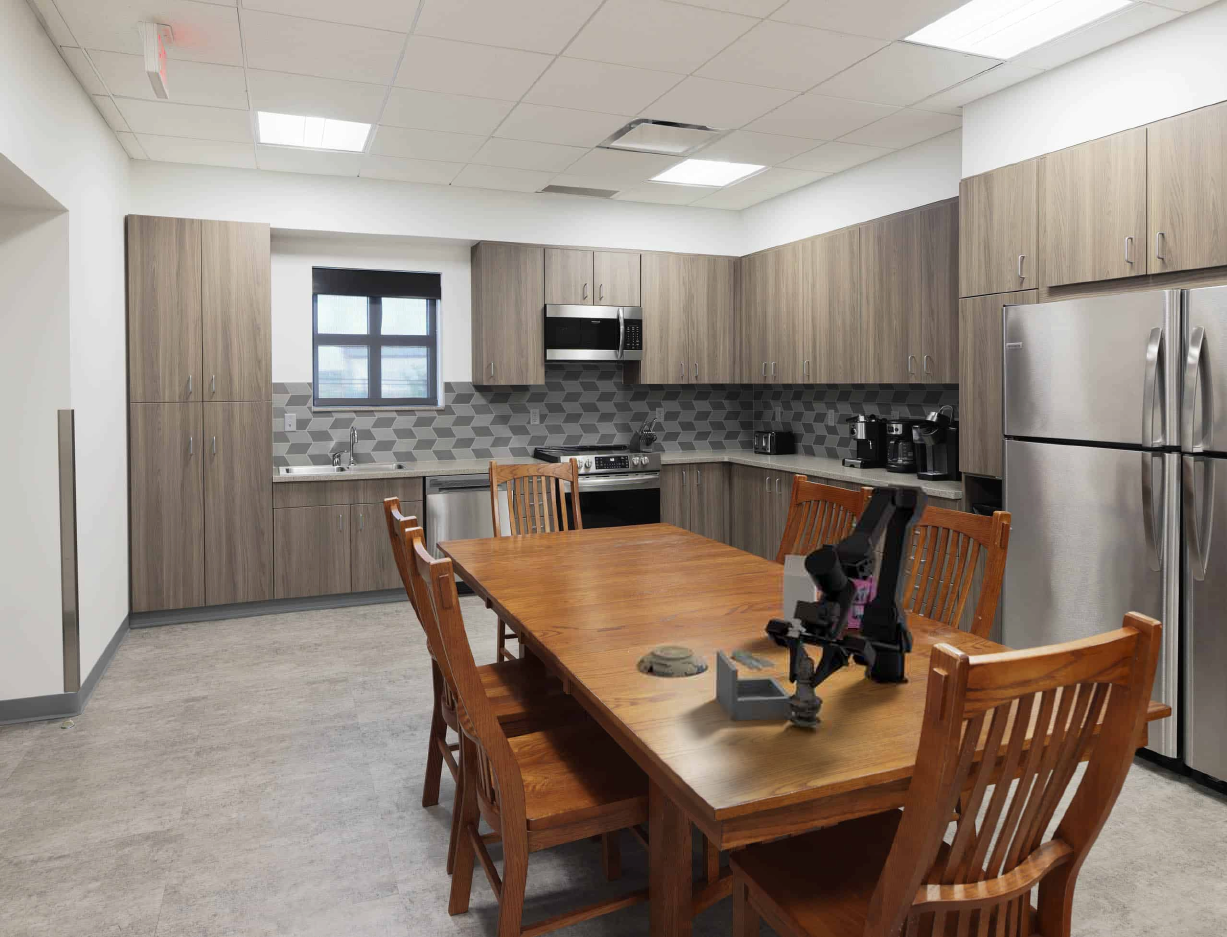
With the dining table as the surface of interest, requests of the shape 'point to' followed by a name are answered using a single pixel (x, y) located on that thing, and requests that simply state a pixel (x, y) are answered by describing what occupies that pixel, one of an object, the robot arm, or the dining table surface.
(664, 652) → the decorative bowl
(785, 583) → the milk carton
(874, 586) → the gum box
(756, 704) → the shaker rack
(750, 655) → the leaf
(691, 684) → the dining table surface
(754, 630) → the dining table surface
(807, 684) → the salt shaker
